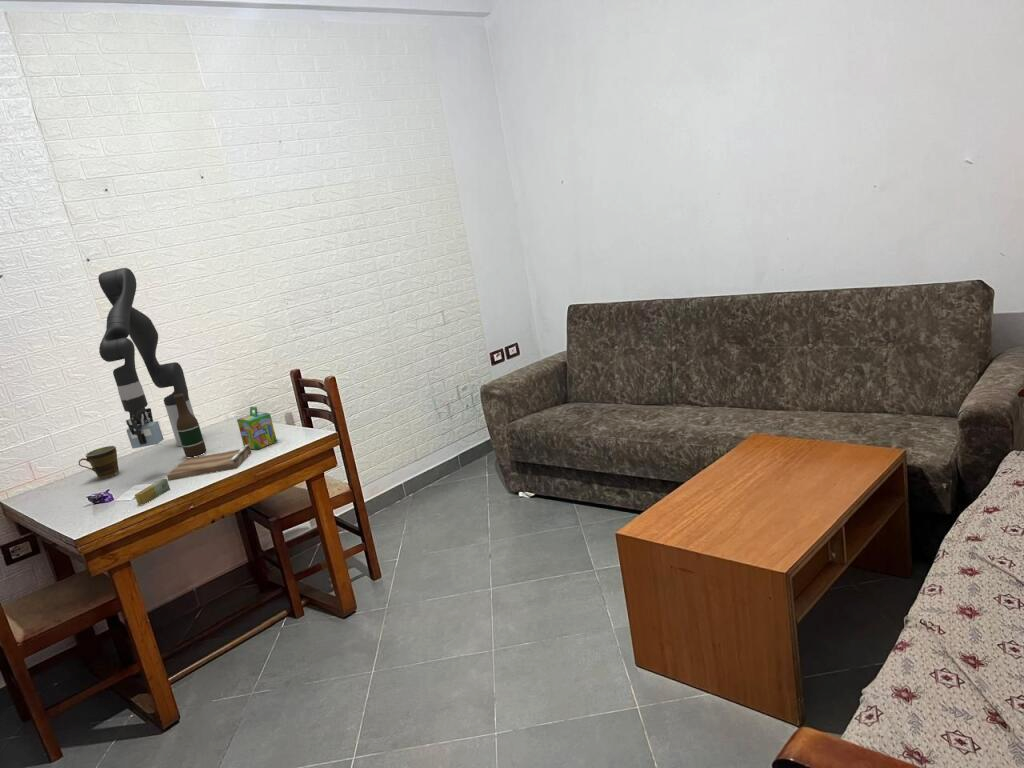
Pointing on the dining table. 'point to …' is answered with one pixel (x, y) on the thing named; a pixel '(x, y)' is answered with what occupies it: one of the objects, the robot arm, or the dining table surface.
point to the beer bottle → (188, 429)
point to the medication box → (152, 491)
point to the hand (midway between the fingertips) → (147, 441)
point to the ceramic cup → (103, 461)
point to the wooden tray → (210, 463)
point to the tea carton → (147, 435)
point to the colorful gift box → (257, 429)
